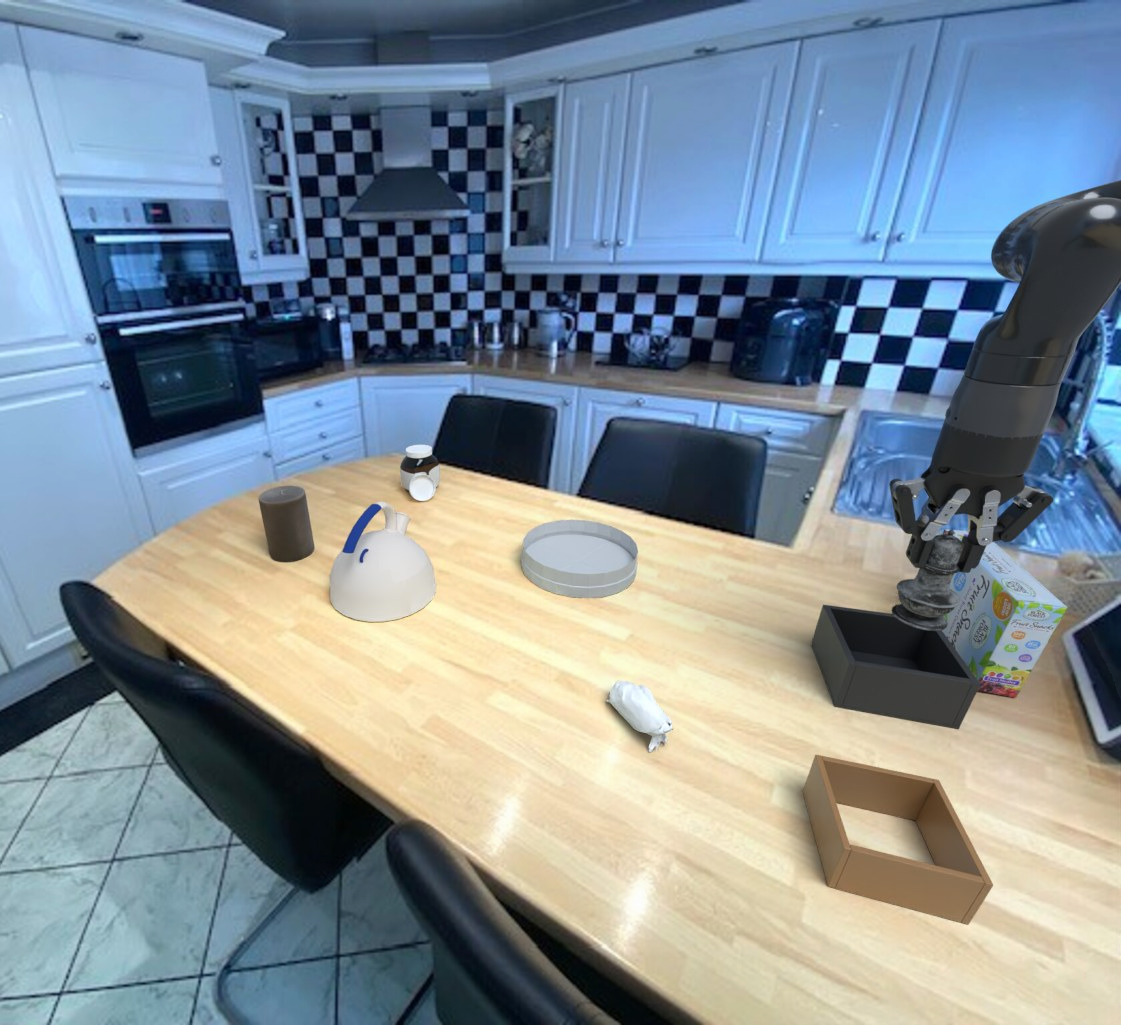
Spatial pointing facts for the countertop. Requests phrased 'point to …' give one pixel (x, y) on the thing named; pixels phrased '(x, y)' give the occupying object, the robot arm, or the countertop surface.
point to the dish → (579, 558)
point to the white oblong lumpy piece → (641, 711)
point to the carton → (886, 877)
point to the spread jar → (420, 472)
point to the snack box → (1000, 620)
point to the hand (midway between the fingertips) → (938, 566)
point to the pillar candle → (286, 523)
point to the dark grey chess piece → (931, 587)
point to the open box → (891, 667)
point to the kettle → (381, 571)
